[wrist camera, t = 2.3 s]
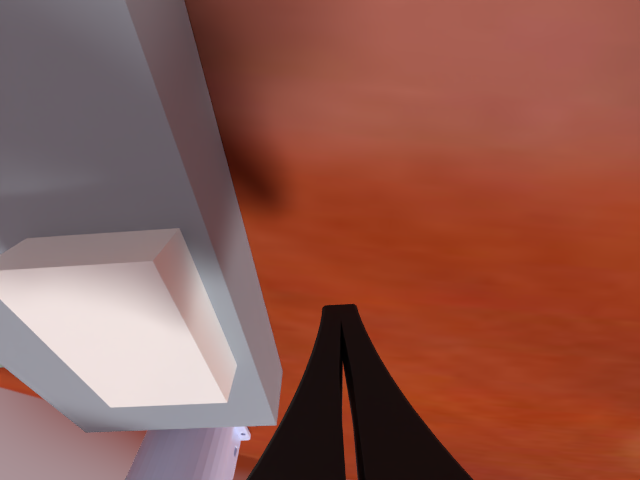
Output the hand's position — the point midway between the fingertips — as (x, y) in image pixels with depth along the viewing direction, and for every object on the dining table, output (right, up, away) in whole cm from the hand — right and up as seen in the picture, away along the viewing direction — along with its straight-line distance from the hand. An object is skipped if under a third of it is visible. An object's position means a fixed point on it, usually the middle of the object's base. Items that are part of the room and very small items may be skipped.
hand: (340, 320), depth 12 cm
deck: (-12, +2, +5) cm, 13 cm away
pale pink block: (-9, 0, +1) cm, 9 cm away
